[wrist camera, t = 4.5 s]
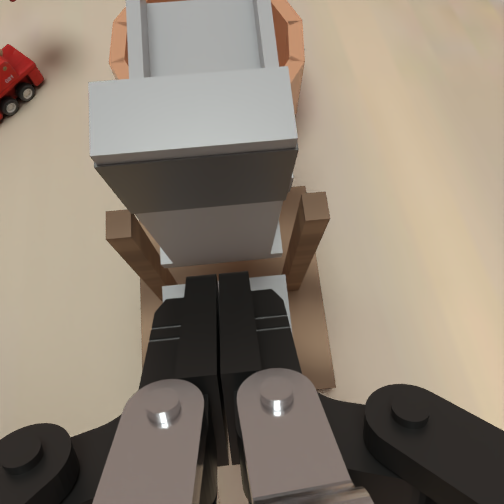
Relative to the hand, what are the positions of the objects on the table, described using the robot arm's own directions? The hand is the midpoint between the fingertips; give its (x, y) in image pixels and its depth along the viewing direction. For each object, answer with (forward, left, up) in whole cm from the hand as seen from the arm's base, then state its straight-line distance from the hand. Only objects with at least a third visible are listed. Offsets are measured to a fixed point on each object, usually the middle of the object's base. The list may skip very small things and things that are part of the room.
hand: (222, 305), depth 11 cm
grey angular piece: (-4, +6, -9) cm, 12 cm away
